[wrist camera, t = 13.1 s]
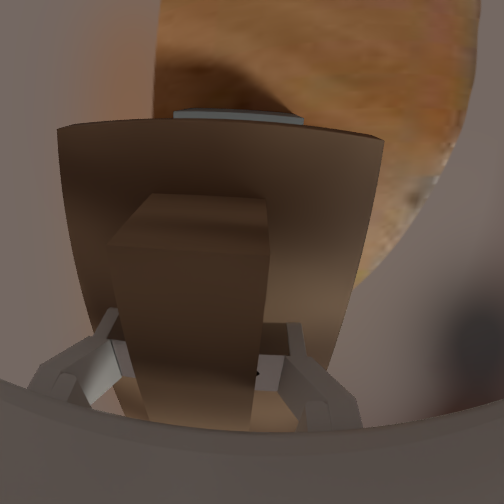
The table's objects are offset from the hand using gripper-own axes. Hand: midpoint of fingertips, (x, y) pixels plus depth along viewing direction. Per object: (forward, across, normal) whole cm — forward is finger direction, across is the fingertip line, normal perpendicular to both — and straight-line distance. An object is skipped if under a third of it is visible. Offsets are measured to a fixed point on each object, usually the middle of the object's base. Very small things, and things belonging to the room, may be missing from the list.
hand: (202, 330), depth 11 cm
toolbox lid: (+2, 0, +2) cm, 3 cm away
